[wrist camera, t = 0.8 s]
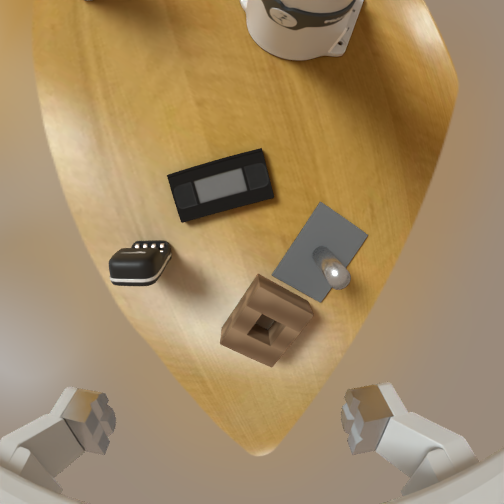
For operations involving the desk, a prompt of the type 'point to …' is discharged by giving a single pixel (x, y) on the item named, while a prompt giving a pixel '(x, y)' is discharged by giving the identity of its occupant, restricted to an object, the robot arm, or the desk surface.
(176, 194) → the vhs tape
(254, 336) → the hole block
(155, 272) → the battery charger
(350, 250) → the mat
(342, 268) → the peg
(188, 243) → the desk surface
